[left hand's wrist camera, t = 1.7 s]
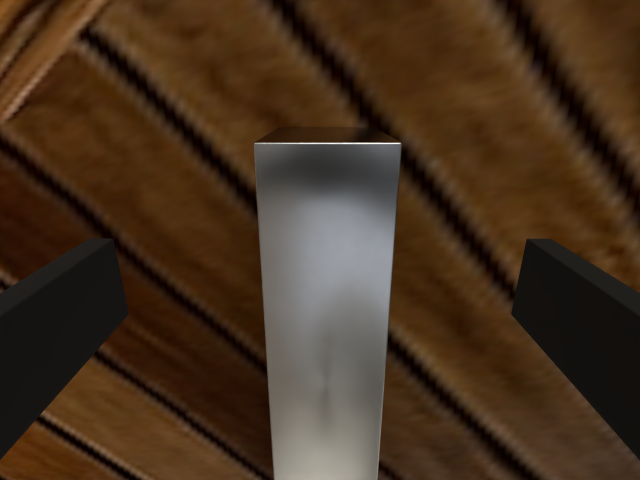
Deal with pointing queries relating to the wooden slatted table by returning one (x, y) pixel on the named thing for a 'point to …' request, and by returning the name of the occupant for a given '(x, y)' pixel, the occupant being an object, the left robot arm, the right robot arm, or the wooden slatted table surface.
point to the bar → (326, 294)
